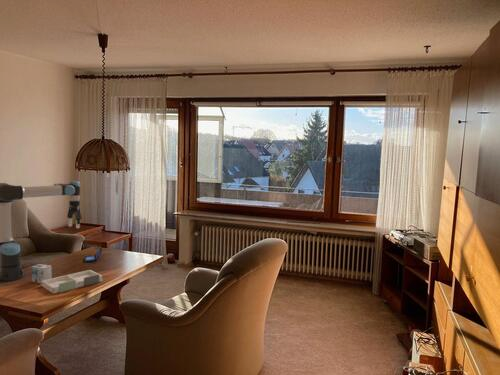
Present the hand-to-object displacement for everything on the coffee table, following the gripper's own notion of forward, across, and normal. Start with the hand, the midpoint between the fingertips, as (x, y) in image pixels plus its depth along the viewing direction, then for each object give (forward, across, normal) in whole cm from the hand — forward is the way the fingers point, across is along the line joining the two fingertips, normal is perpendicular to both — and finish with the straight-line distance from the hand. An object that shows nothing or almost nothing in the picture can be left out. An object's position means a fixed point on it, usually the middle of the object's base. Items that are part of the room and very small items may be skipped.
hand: (74, 227), depth 310 cm
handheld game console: (+27, -6, -14) cm, 31 cm away
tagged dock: (+30, -49, +22) cm, 62 cm away
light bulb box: (+31, -31, +34) cm, 56 cm away
